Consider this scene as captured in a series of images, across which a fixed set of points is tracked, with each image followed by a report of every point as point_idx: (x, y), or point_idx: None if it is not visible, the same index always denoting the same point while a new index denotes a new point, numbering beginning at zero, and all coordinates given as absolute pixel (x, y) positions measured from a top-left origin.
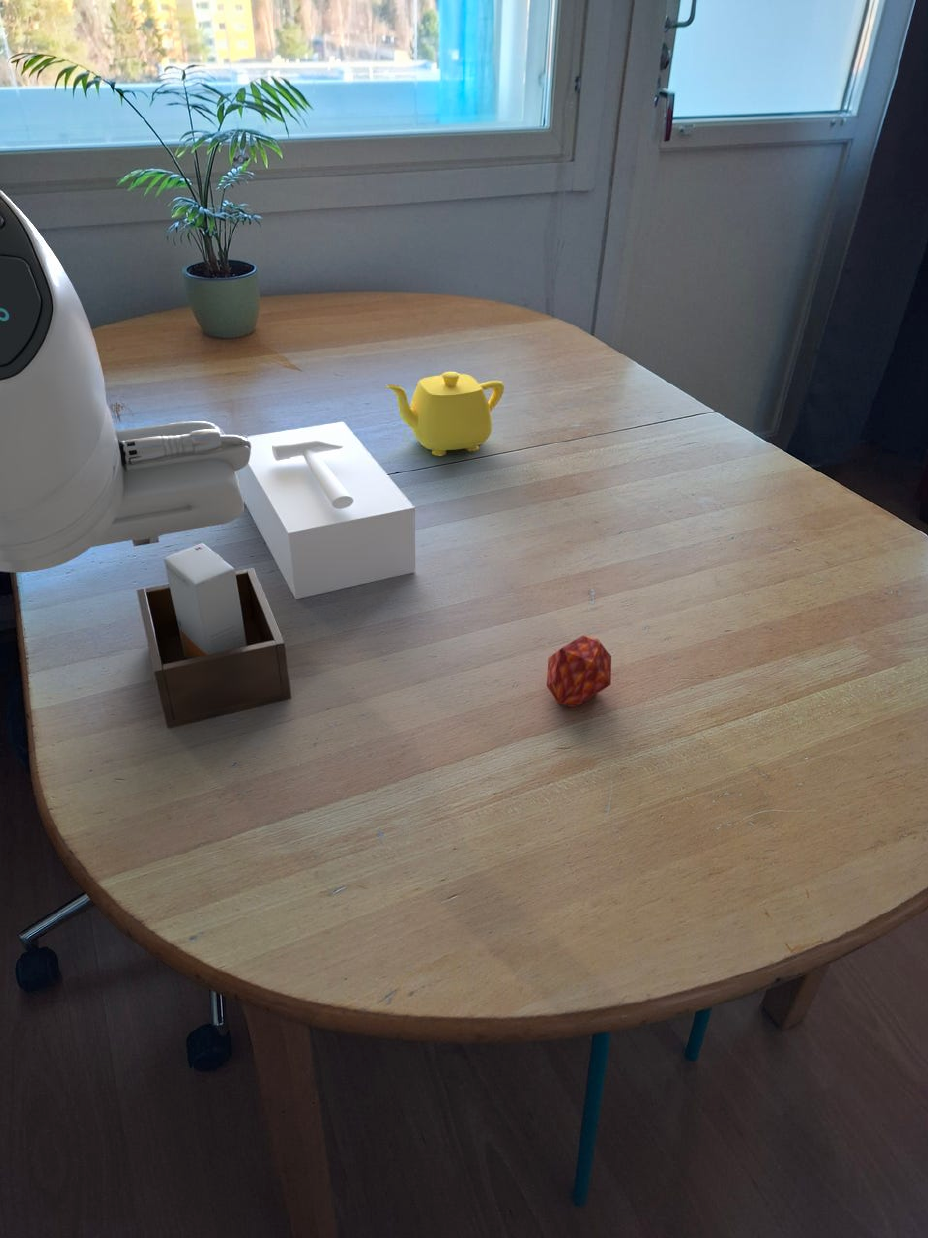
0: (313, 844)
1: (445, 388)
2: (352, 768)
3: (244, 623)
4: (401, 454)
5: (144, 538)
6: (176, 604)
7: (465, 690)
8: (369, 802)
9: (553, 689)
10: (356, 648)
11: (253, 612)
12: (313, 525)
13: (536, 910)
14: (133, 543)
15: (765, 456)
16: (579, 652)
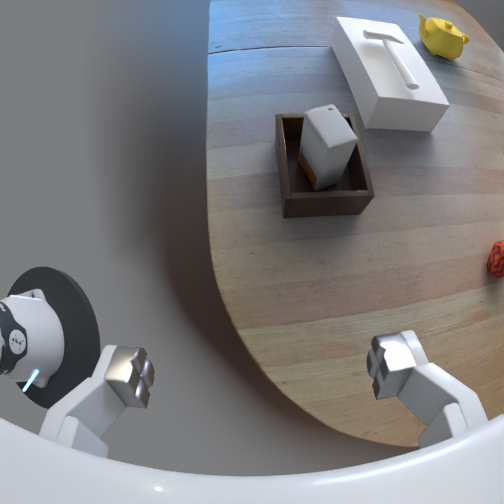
0: (356, 339)
1: (445, 28)
2: (387, 286)
3: None
4: (414, 46)
5: (393, 396)
6: (304, 139)
7: (451, 241)
8: (391, 316)
9: (491, 266)
10: (399, 183)
11: None
12: (393, 95)
13: None
14: (370, 374)
15: None
16: None
